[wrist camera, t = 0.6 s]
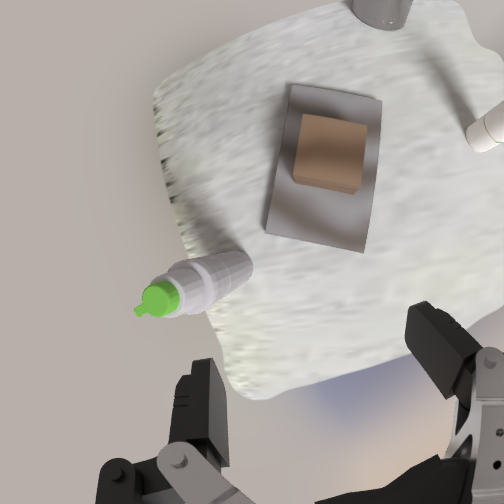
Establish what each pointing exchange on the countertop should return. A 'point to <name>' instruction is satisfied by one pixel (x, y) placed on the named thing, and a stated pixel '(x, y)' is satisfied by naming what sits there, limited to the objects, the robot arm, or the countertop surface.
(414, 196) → the countertop surface
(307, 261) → the countertop surface
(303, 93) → the pedestal stand
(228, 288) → the bottle
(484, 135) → the tube
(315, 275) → the countertop surface
